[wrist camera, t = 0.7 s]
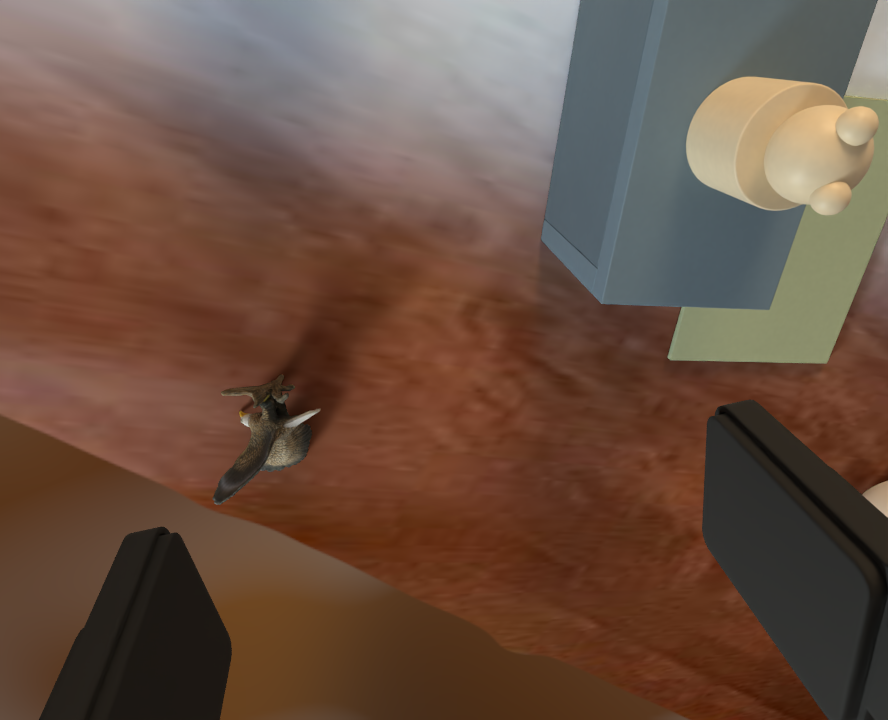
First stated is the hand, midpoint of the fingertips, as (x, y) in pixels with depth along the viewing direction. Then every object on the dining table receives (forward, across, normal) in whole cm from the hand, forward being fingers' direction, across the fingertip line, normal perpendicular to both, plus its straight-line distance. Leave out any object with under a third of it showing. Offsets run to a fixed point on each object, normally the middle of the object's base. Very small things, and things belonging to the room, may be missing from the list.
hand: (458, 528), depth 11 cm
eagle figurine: (+34, +12, +16) cm, 39 cm away
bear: (+22, -17, -1) cm, 28 cm away
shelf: (+34, -17, -1) cm, 38 cm away
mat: (+34, -29, +11) cm, 45 cm away
